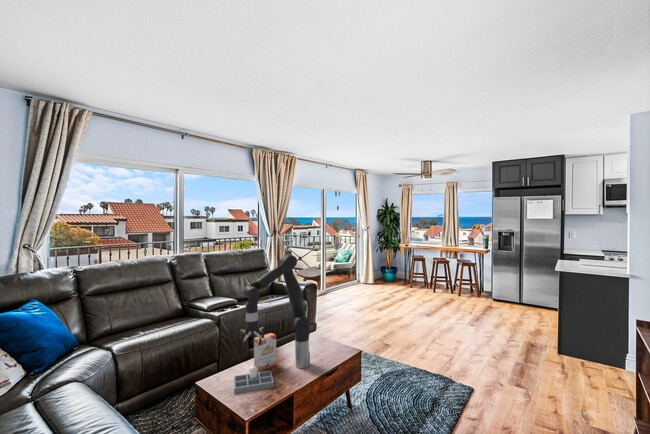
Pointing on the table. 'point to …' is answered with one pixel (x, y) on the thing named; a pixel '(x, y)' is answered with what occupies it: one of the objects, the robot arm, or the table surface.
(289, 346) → the table surface
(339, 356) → the table surface
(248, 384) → the egg tray
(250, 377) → the egg
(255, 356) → the cracker box
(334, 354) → the table surface
